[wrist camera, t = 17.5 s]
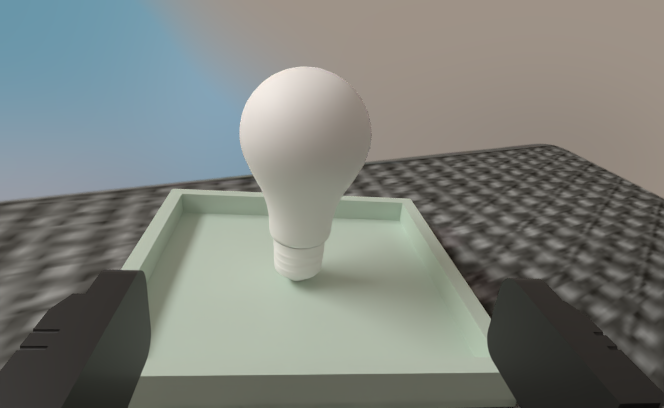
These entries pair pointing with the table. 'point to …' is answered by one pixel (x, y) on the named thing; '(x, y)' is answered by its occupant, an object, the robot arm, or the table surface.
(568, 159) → the table surface
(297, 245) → the lightbulb
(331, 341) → the parts tray
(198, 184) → the table surface
